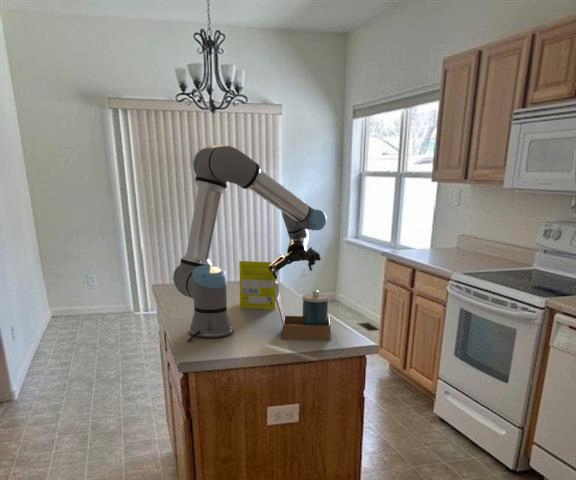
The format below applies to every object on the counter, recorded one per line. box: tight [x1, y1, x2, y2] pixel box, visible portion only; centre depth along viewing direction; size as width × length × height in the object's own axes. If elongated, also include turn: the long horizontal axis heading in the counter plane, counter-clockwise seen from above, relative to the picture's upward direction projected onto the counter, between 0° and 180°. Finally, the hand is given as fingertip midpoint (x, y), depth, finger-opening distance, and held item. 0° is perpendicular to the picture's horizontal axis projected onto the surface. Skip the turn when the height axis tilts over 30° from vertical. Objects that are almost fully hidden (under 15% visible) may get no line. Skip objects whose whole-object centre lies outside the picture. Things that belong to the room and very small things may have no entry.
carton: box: [282, 315, 331, 341], centre depth 194 cm, size 17×13×5 cm
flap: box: [275, 292, 286, 324], centre depth 192 cm, size 8×13×1 cm
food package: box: [238, 260, 276, 310], centre depth 227 cm, size 15×1×20 cm, turn 84°
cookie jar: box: [301, 290, 330, 326], centre depth 192 cm, size 10×10×16 cm
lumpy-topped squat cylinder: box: [275, 280, 280, 301], centre depth 248 cm, size 10×13×9 cm
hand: (292, 271), depth 196 cm, fingers open, 13 cm apart
